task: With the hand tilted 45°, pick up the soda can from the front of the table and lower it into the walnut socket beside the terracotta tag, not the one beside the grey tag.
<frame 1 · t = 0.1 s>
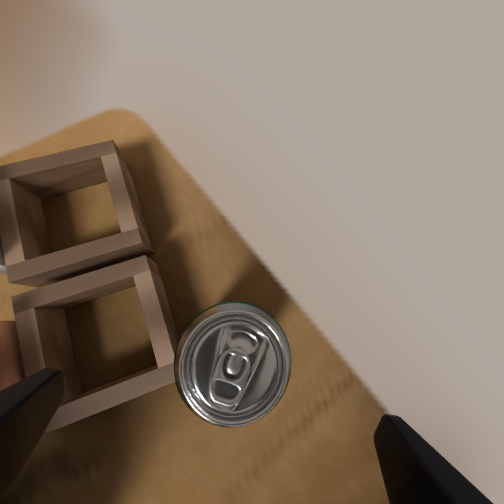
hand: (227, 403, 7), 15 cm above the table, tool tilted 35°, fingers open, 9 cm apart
soda can: (229, 339, 22), on the table
socket block: (101, 275, 22), on the table
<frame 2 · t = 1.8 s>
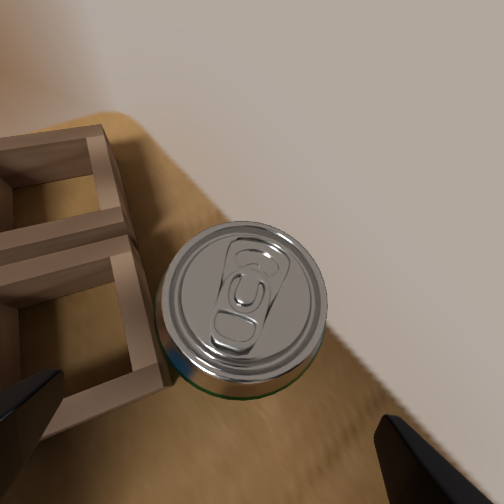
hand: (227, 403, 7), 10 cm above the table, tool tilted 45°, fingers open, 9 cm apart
soda can: (226, 346, 18), on the table
socket block: (72, 270, 18), on the table
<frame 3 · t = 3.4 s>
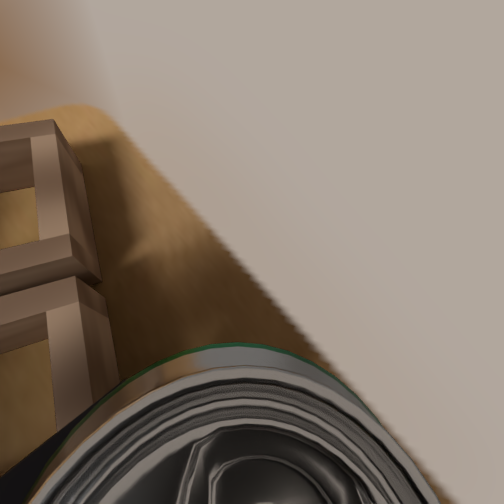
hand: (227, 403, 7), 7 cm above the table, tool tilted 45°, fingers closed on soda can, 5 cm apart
soda can: (217, 424, 13), on the table, touching gripper
socket block: (9, 317, 13), on the table
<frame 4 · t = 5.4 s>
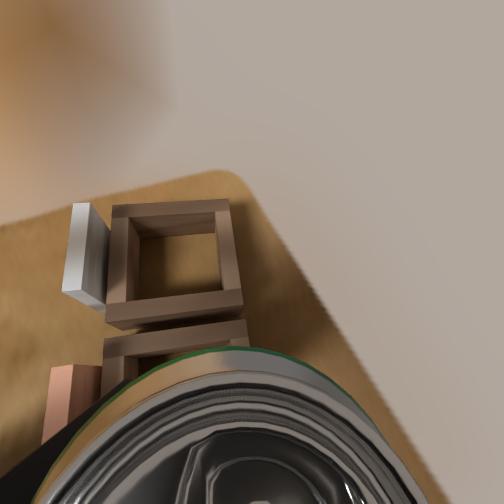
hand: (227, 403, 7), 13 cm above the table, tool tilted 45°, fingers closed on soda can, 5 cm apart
soda can: (219, 421, 13), point 6 cm above the table, touching gripper
socket block: (183, 328, 21), on the table
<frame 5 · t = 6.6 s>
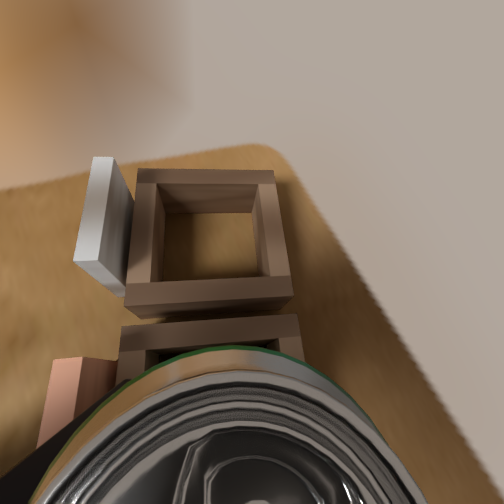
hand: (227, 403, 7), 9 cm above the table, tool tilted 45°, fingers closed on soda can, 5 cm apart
soda can: (219, 421, 13), point 2 cm above the table, touching gripper
socket block: (213, 321, 17), on the table
when the fingers open (7 cm above the table, at t = 7.4 s): soda can stays where it is, resting in socket block.
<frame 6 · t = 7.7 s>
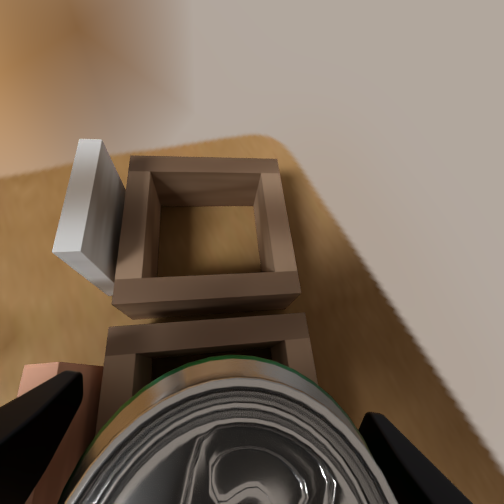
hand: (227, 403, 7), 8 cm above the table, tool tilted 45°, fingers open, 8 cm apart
soda can: (219, 423, 14), resting in socket block
socket block: (212, 322, 16), on the table
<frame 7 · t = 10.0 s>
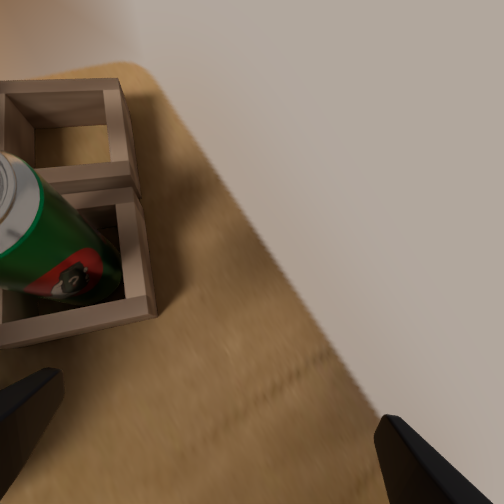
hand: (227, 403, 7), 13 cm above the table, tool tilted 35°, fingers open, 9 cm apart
soda can: (91, 272, 20), resting in socket block
socket block: (83, 211, 21), on the table
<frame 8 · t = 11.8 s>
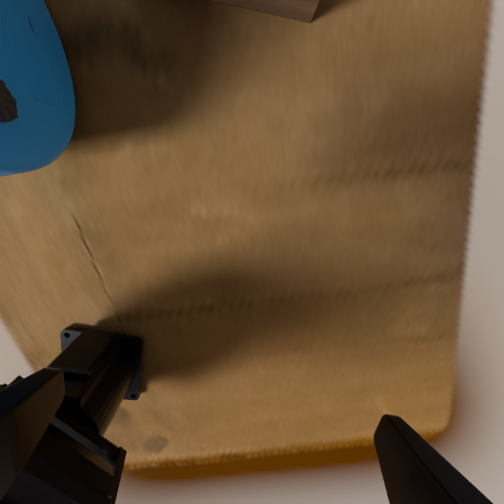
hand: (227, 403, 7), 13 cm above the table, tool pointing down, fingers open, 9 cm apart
alarm clock: (27, 63, 16), on the table
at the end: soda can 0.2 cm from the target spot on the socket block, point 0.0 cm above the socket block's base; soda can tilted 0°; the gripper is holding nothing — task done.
